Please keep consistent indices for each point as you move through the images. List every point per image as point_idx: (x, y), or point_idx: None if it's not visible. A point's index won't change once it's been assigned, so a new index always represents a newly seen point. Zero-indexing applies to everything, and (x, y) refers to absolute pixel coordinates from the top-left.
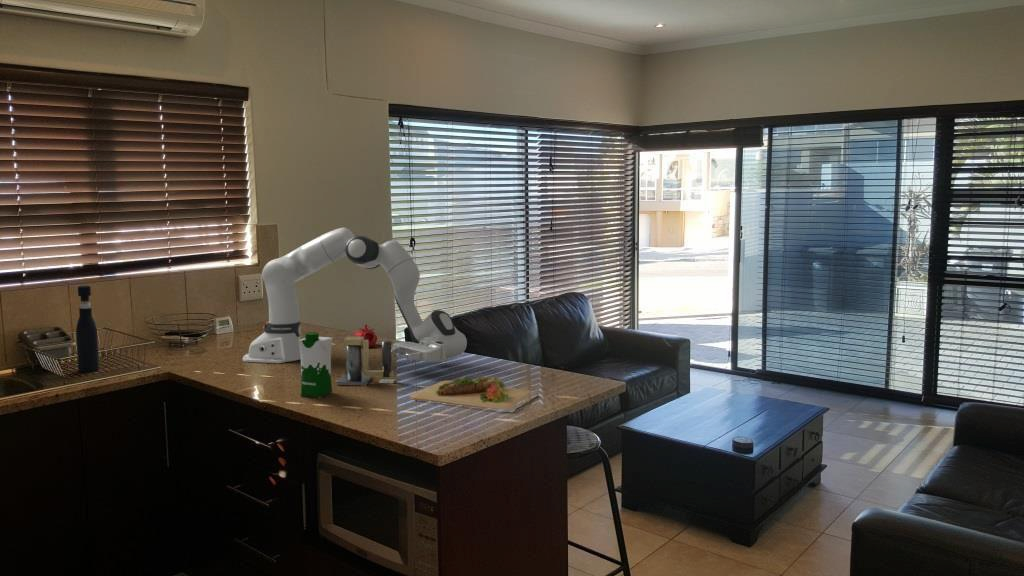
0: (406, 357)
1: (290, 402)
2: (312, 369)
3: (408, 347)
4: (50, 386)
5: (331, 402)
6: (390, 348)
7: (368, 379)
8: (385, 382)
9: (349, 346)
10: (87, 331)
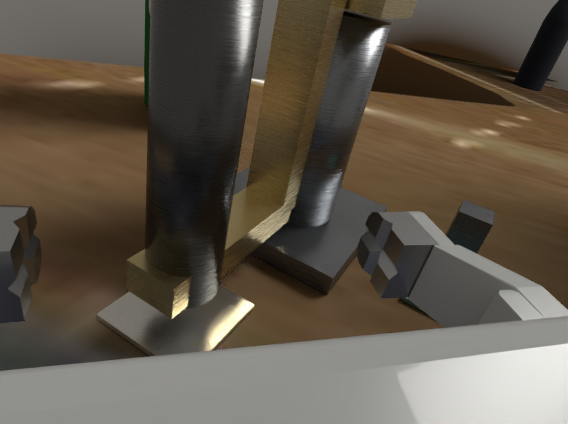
0: (36, 243)
1: None
2: None
3: (344, 340)
4: (437, 60)
5: (69, 96)
6: (151, 44)
7: None
8: None
9: None
10: (547, 19)
